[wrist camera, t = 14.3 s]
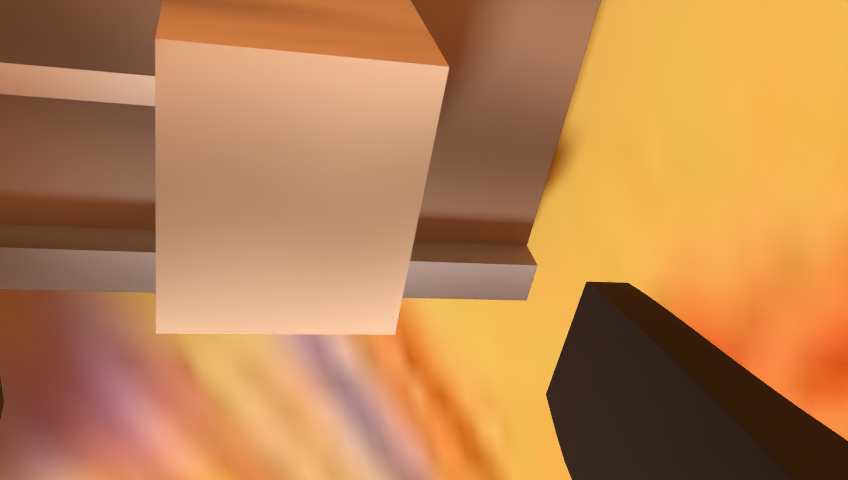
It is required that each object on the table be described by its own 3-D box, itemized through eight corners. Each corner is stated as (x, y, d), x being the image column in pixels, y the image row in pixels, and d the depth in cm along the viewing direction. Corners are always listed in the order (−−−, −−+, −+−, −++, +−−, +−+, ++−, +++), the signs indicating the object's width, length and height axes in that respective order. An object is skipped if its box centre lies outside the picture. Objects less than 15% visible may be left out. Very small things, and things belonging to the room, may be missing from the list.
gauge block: (363, 213, 17) (394, 334, 14) (169, 205, 16) (155, 333, 13) (399, -18, 15) (449, 67, 11) (171, -46, 14) (155, 38, 10)
